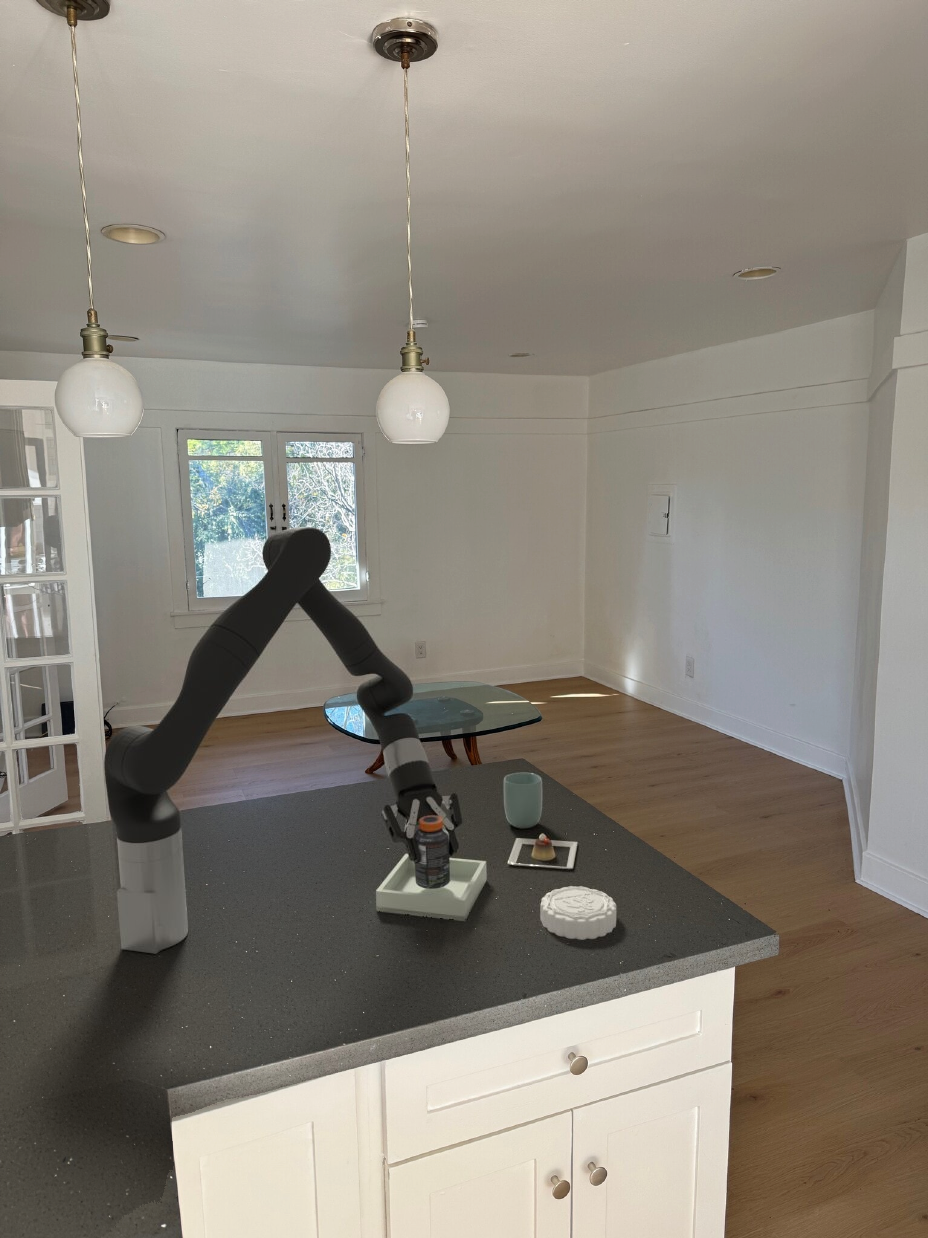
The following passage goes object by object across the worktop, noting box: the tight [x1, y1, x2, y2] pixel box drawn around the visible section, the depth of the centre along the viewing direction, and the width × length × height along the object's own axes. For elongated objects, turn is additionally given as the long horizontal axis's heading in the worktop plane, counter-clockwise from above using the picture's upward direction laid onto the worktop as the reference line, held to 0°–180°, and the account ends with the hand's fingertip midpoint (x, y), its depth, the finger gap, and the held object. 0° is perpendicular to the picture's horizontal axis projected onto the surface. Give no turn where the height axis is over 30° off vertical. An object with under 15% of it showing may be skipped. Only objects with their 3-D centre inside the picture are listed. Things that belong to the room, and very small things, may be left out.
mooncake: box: [539, 885, 617, 941], centre depth 132 cm, size 12×12×4 cm
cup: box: [503, 771, 543, 829], centre depth 171 cm, size 8×8×10 cm
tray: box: [375, 853, 488, 922], centre depth 141 cm, size 15×15×4 cm
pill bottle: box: [413, 815, 451, 889], centre depth 140 cm, size 6×6×11 cm
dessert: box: [506, 833, 579, 870], centre depth 156 cm, size 12×12×5 cm
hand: (436, 857), depth 139 cm, fingers closed on pill bottle, 6 cm apart
